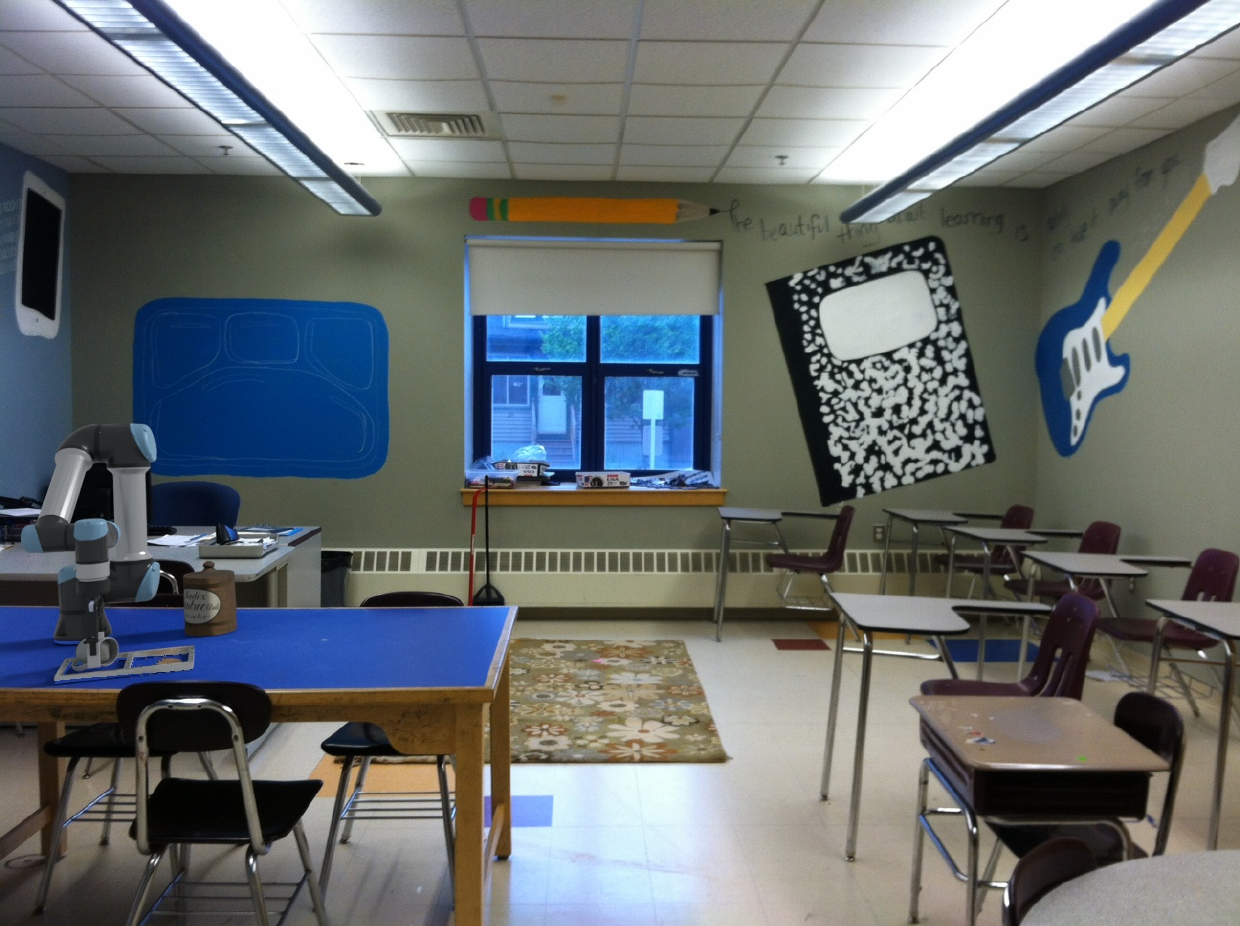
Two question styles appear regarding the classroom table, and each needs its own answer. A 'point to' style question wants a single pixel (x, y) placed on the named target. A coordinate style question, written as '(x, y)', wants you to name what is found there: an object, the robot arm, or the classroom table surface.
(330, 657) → the classroom table surface
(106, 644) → the ceramic mug
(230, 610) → the wooden container
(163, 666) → the slot rack
